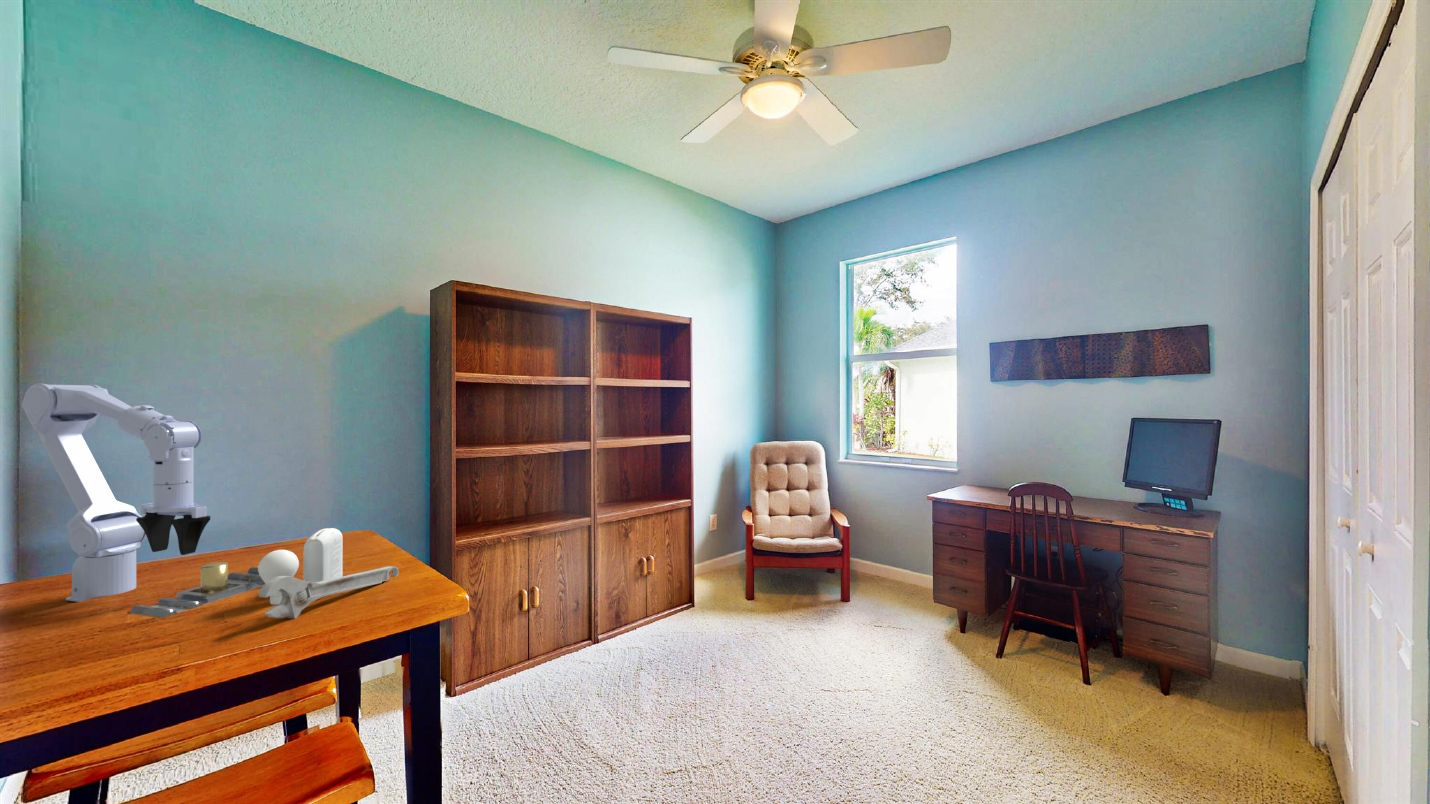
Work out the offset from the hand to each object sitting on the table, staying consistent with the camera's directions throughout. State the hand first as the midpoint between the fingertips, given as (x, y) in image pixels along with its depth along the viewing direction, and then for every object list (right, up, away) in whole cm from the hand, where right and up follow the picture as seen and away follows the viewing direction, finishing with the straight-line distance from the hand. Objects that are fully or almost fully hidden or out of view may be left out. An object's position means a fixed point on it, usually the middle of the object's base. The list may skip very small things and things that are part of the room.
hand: (173, 552), depth 111 cm
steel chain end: (+7, -9, -4) cm, 12 cm away
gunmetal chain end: (+9, -9, +3) cm, 14 cm away
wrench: (+32, -10, +1) cm, 33 cm away
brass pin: (+8, -10, 0) cm, 12 cm away
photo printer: (+25, -10, +7) cm, 27 cm away
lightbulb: (+24, -10, -4) cm, 26 cm away
